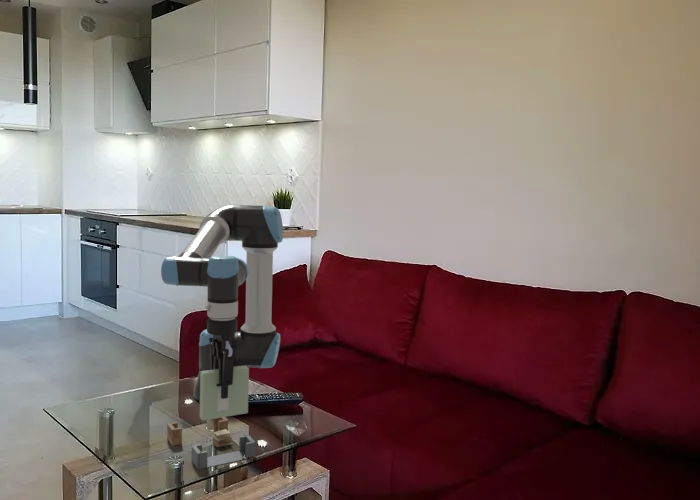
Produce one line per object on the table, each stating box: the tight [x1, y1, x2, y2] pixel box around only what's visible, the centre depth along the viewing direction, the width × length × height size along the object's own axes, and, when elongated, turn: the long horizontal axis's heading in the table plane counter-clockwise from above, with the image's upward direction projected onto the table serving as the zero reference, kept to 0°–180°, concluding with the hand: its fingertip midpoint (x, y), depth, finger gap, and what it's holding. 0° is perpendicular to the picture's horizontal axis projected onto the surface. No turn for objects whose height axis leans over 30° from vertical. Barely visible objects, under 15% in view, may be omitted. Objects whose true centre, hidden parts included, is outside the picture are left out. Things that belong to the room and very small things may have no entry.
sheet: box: [199, 366, 250, 421], centre depth 156 cm, size 12×2×12 cm, turn 121°
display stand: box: [191, 434, 256, 470], centre depth 158 cm, size 15×5×5 cm, turn 121°
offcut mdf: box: [212, 429, 232, 441], centre depth 167 cm, size 4×3×2 cm
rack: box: [166, 417, 229, 447], centre depth 170 cm, size 16×5×5 cm, turn 121°
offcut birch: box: [212, 442, 233, 448], centre depth 167 cm, size 4×3×2 cm
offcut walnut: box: [212, 436, 233, 447], centre depth 167 cm, size 4×3×2 cm
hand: (220, 407), depth 156 cm, fingers closed on sheet, 2 cm apart
